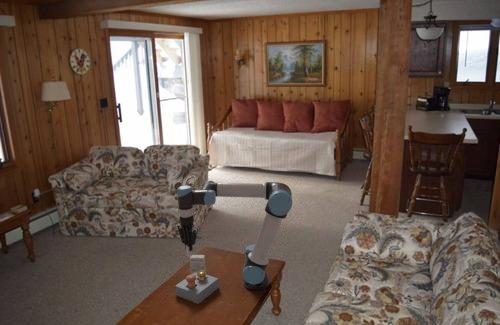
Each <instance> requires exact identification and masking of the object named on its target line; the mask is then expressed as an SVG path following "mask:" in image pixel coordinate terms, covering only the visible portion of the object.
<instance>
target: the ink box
mask: <svg viewBox="0 0 500 325" xmlns="http://www.w3.org/2000/svg"><path fill="white" fill-rule="evenodd" d="M189 267H190V275H192V274H193V273H195V272H196V271H199V270H205V271H206V272H207V270H206V269H207V268H206V255H205V254H192V256H190V257H189Z"/></svg>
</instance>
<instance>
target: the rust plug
mask: <svg viewBox="0 0 500 325" xmlns="http://www.w3.org/2000/svg"><path fill="white" fill-rule="evenodd" d="M185 279H186V281H188V288H190V289H193V288H195V280H196V276H195V275H191V274H189V275H188V274H187V276H186V277H185Z"/></svg>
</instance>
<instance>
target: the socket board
mask: <svg viewBox="0 0 500 325" xmlns="http://www.w3.org/2000/svg"><path fill="white" fill-rule="evenodd" d="M197 272H198V271H196V272H195V273H193V274H192V275H195V276H196V280H195V288H193V289H190V288H188V281H186V278H185V279H183V280H181V281H180V282H178V283H177V284H176V285H175V286H174V288H175V296H176V297H180V298H182V299H184V300H187V301H188V302H189V301H190V302H192V303H194V304H197V305H199V304H201V303H202V302H203V301H204V300H205V299H206V298H208V297H209V296H211V295H212V294H213V293H215V291H217V290H218V289H219V287H220V286H219V278H217V277H215V276H212V275H209V274H207V275H206V280H204V281H203V282H202V281H200V280H199V277H198V276H197Z"/></svg>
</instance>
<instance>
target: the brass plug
mask: <svg viewBox="0 0 500 325" xmlns="http://www.w3.org/2000/svg"><path fill="white" fill-rule="evenodd" d="M207 272H208V271H207V270H206V271H205V270H199V271H198V272H197V276H198V277H199V280H200V281H202V282H203V281H204V280H206V275H208V274H207Z"/></svg>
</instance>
